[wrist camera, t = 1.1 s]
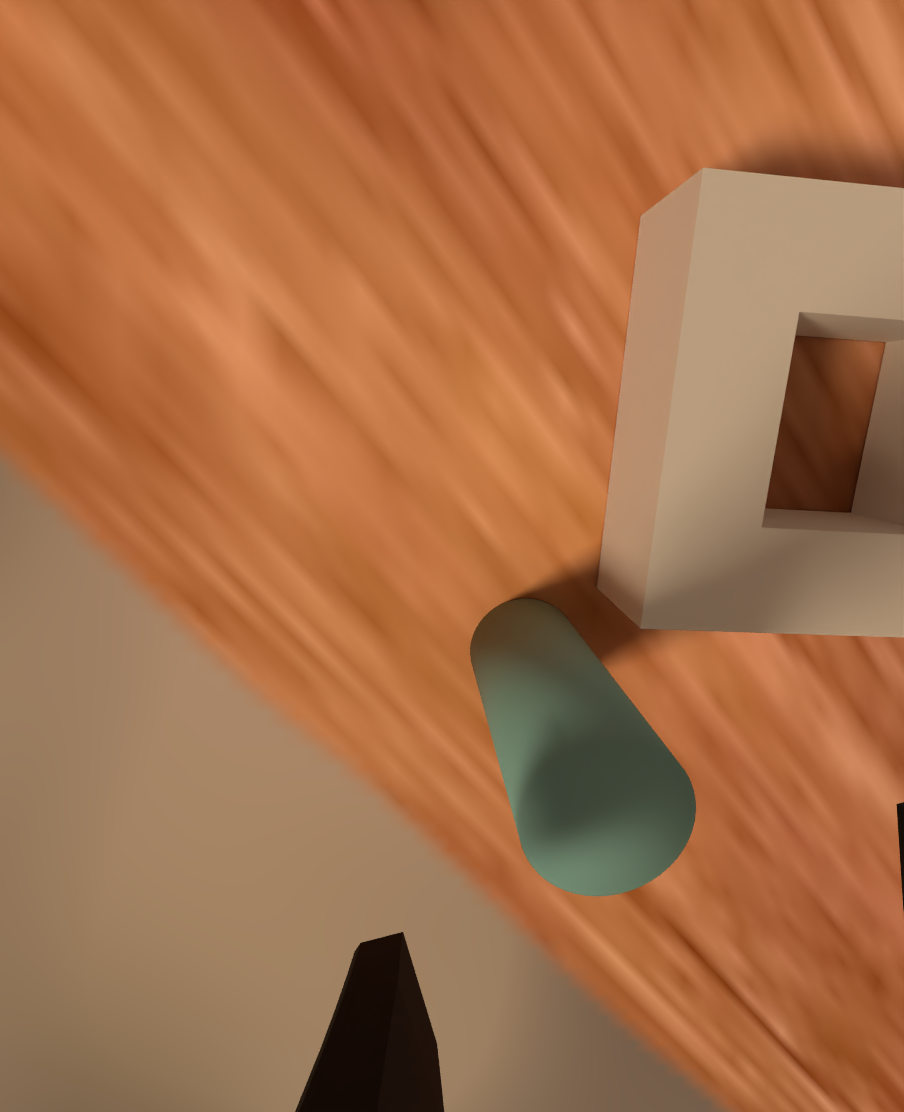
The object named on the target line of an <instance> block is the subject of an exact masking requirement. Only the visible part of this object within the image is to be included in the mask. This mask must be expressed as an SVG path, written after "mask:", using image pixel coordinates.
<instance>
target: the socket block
mask: <svg viewBox="0 0 904 1112" xmlns="http://www.w3.org/2000/svg"><path fill="white" fill-rule="evenodd" d="M795 335H797V336H810V337H823V338H836V339H849V340H861V341H874V342H886V345H885V350H884V355H883V359H882V364H881V369H880V374H879V379H878V384H877V388H876V393H875V398H874V403H873V408H872V413H871V418H870V422H869V427H868V432H867V437H866V442H865V447H864V452H863V456H862V461H861V466H860V471H859V476H858V481H857V485H856V490H855V495H854V500H853V505H852V510H851V513H845V512H826V511H806V510H787V509H767V508H765V505H766V500H767V494H768V488H769V482H770V477H771V471H772V465H773V460H774V454H775V448H776V442H777V437H778V431H779V425H780V420H781V414H782V408H783V402H784V397H785V391H786V385H787V380H788V374H789V368H790V362H791V357H792V351H793V345H794V340H795ZM597 589H598V590H599V591H600V592H601V593H603V594H604V595H605V596H606V597H607V598H608V599H609V600H610V601H611V602H612V603H613V604H614V605H615V606H616V607H618V608H619V609H620V610H621V611H622V612H623V613H624V614H625V615H626V616H627V617H628V618H629V619H630V620H631V621H633V622H634V623H635V624H636V625H637V626H638V627H639V628H640V629H662V630H693V631H723V632H754V633H785V634H816V635H847V636H878V637H904V188H897V187H887V186H877V185H868V184H858V183H848V182H838V181H829V180H819V179H809V178H799V177H790V176H780V175H770V174H760V173H751V172H741V171H731V170H721V169H712V168H702V169H701V170H700V171H698V172H697V173H696V174H694V175H693V176H692V177H690V178H689V179H688V180H687V181H685V182H684V183H683V184H681V185H680V186H679V187H678V188H676V189H675V190H674V191H672V192H671V193H670V194H669V195H667V196H666V197H665V198H663V199H662V200H661V201H659V202H658V203H657V204H656V205H654V206H653V207H652V208H650V209H649V210H648V211H647V212H645V213H644V214H643V215H641V218H640V226H639V234H638V243H637V251H636V260H635V268H634V277H633V285H632V294H631V302H630V311H629V319H628V328H627V336H626V345H625V353H624V361H623V370H622V378H621V387H620V395H619V404H618V412H617V421H616V429H615V438H614V446H613V455H612V463H611V471H610V480H609V488H608V497H607V505H606V514H605V522H604V531H603V539H602V548H601V556H600V565H599V573H598V581H597Z"/></svg>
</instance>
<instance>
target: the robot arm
mask: <svg viewBox="0 0 904 1112" xmlns="http://www.w3.org/2000/svg"><path fill="white" fill-rule="evenodd" d="M897 817H898V832H899V848H900V863H901V879H902V894H903V909H904V802H903V803H899V804H897ZM295 1112H444V1106H443V1096H442V1086H441V1077H440V1067H439V1058H438V1049H437V1043H436V1039H435V1036H434V1032H433V1029H432V1026H431V1023H430V1019H429V1016H428V1013H427V1009H426V1006H425V1003H424V1000H423V996H422V993H421V990H420V986H419V983H418V980H417V977H416V974H415V970H414V967H413V964H412V960H411V957H410V954H409V950H408V947H407V944H406V940H405V937H404V934H403V932H401V933H397V934H393V935H390V936H386V937H382V938H378V939H374V940H370V941H366V942H362V943H360V945H359V946H358V948H357V949H356V951H355V953H354V956H353V959H352V962H351V965H350V968H349V971H348V974H347V977H346V980H345V983H344V986H343V989H342V992H341V994H340V997H339V1000H338V1003H337V1006H336V1009H335V1011H334V1014H333V1017H332V1020H331V1022H330V1025H329V1028H328V1030H327V1033H326V1036H325V1038H324V1041H323V1044H322V1047H321V1049H320V1052H319V1054H318V1057H317V1059H316V1061H315V1064H314V1066H313V1069H312V1071H311V1074H310V1076H309V1079H308V1081H307V1084H306V1086H305V1089H304V1092H303V1094H302V1096H301V1098H300V1101H299V1104H298V1106H297V1108H296V1111H295Z"/></svg>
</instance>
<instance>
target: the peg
mask: <svg viewBox="0 0 904 1112" xmlns="http://www.w3.org/2000/svg"><path fill="white" fill-rule="evenodd" d="M470 656H471V663H472V666H473V670H474V673H475V677H476V681H477V684H478V688H479V692H480V695H481V699H482V703H483V706H484V710H485V714H486V717H487V721H488V725H489V728H490V732H491V736H492V739H493V743H494V747H495V750H496V754H497V758H498V761H499V765H500V769H501V772H502V776H503V779H504V783H505V787H506V790H507V794H508V798H509V801H510V805H511V809H512V812H513V816H514V820H515V823H516V827H517V831H518V834H519V838H520V842H521V845H522V849H523V851H524V853H525V855H526V858H527V859H528V861H529V862H530V864H531V865H532V867H533V868H534V869H535V870H536V871H537V872H538V874H539V875H541V876H542V877H543V878H544V879H545V880H547V881H548V882H550V883H551V884H553V885H554V886H556V887H558V888H561V889H563V890H565V891H568V892H572V893H575V894H580V895H586V896H609V895H615V894H620V893H624V892H627V891H631V890H633V889H636V888H638V887H640V886H643V885H644V884H646V883H648V882H650V881H652V880H653V879H655V878H656V877H657V876H659V875H660V874H662V873H663V872H664V871H665V870H666V869H667V868H668V867H670V866H671V864H672V863H673V862H674V861H675V860H676V859H677V858H678V856H679V855H680V853H681V852H682V851H683V849H684V847H685V846H686V844H687V842H688V840H689V838H690V835H691V832H692V830H693V826H694V821H695V814H696V801H695V795H694V790H693V787H692V784H691V781H690V779H689V777H688V775H687V774H686V772H685V770H684V769H683V768H682V766H681V765H680V764H679V762H678V761H677V760H676V759H675V757H674V756H673V755H672V753H671V752H670V751H669V750H668V748H667V747H666V746H665V744H664V743H663V742H662V740H661V739H660V738H659V737H658V735H657V734H656V733H655V731H654V730H653V729H652V728H651V726H650V725H649V724H648V722H647V721H646V720H645V718H644V717H643V716H642V715H641V713H640V712H639V711H638V709H637V708H636V707H635V705H634V704H633V703H632V702H631V700H630V699H629V698H628V696H627V695H626V694H625V693H624V691H623V690H622V689H621V687H620V686H619V685H618V683H617V682H616V681H615V680H614V678H613V677H612V676H611V674H610V673H609V672H608V671H607V669H606V668H605V667H604V665H603V664H602V663H601V661H600V660H599V659H598V658H597V656H596V655H595V654H594V652H593V651H592V650H591V649H590V647H589V646H588V645H587V643H586V642H585V641H584V639H583V638H582V637H581V636H580V634H579V633H578V632H577V630H576V629H575V628H574V627H573V625H572V624H571V623H570V621H569V620H568V619H567V617H566V616H565V615H564V614H563V613H562V612H561V611H560V610H559V609H557V608H556V607H555V606H553V605H551V604H549V603H547V602H544V601H541V600H537V599H516V600H512V601H508V602H506V603H503V604H501V605H499V606H497V607H496V608H494V609H493V610H491V611H490V612H489V613H488V614H487V615H486V616H485V617H484V618H483V619H482V620H481V622H480V623H479V624H478V626H477V628H476V630H475V632H474V634H473V637H472V641H471V647H470Z"/></svg>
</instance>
